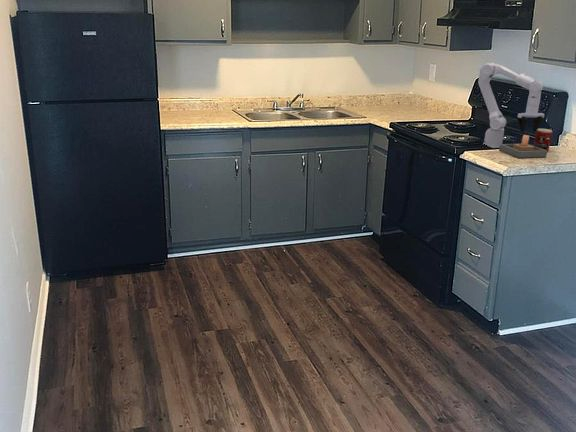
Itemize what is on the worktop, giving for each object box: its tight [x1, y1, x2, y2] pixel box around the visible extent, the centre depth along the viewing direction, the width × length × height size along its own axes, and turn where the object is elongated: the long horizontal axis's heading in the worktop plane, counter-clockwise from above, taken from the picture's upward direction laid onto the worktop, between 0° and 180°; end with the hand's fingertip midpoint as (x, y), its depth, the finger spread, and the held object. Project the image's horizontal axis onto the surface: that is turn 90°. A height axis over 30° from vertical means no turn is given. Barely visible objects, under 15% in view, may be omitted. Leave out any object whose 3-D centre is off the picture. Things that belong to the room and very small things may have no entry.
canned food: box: [533, 128, 553, 153], centre depth 307 cm, size 8×8×11 cm
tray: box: [499, 143, 548, 160], centre depth 298 cm, size 16×16×5 cm
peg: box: [520, 134, 530, 146], centre depth 297 cm, size 3×3×9 cm
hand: (528, 131), depth 303 cm, fingers open, 7 cm apart
